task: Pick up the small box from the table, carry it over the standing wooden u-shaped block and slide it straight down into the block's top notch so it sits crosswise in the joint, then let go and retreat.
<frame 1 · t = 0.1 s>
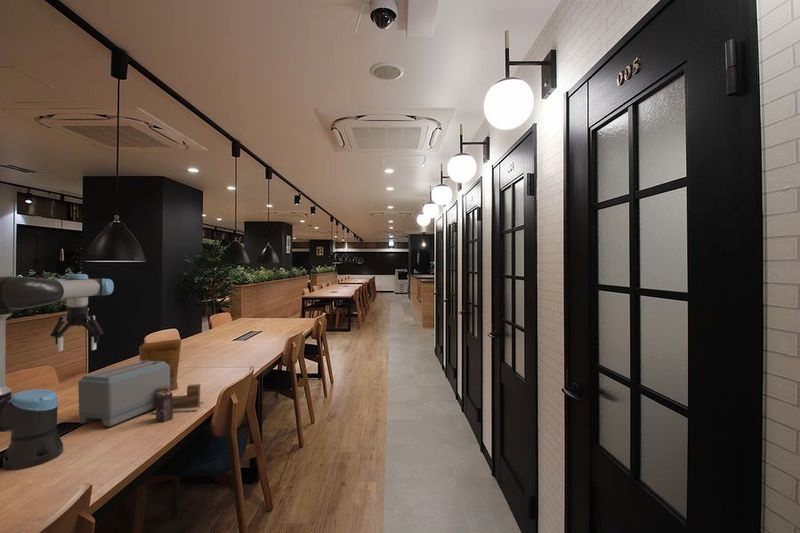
hand: (77, 350, 173), 28 cm above the table, fingers open, 13 cm apart
wooden u-shaped block: (178, 408, 174), on the table
box: (164, 420, 162), on the table
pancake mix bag: (160, 391, 197), on the table
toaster: (131, 411, 170), on the table, touching wooden u-shaped block
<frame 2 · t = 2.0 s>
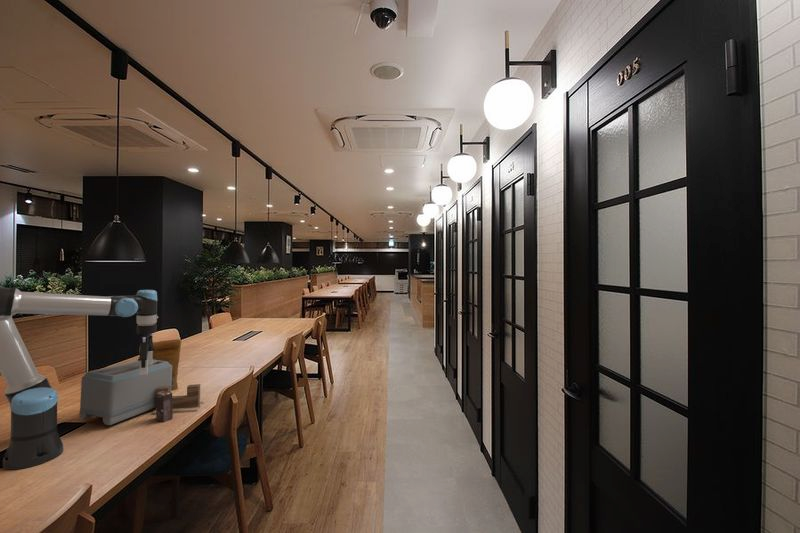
hand: (146, 370, 165), 21 cm above the table, fingers open, 13 cm apart
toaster: (131, 409, 170), point 1 cm above the table, touching gripper, wooden u-shaped block
everything else where it was.
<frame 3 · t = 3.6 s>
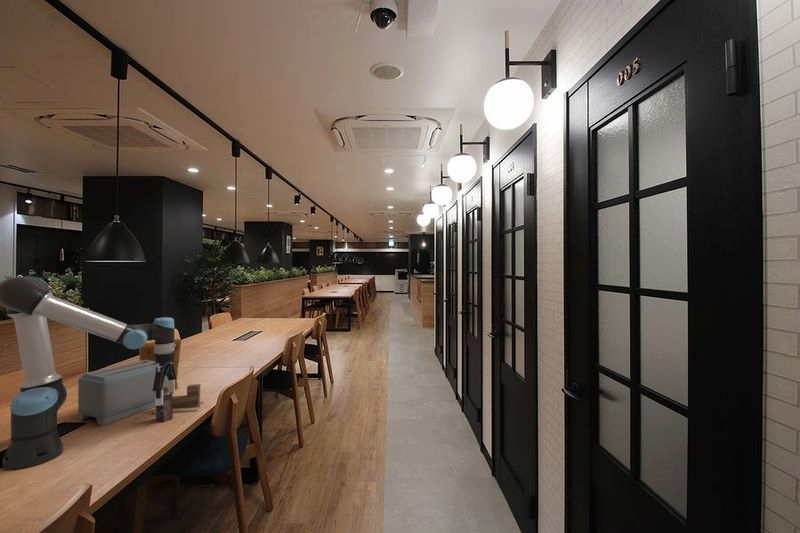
hand: (165, 399, 162), 9 cm above the table, fingers open, 13 cm apart
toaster: (129, 409, 173), on the table
everything else where it was.
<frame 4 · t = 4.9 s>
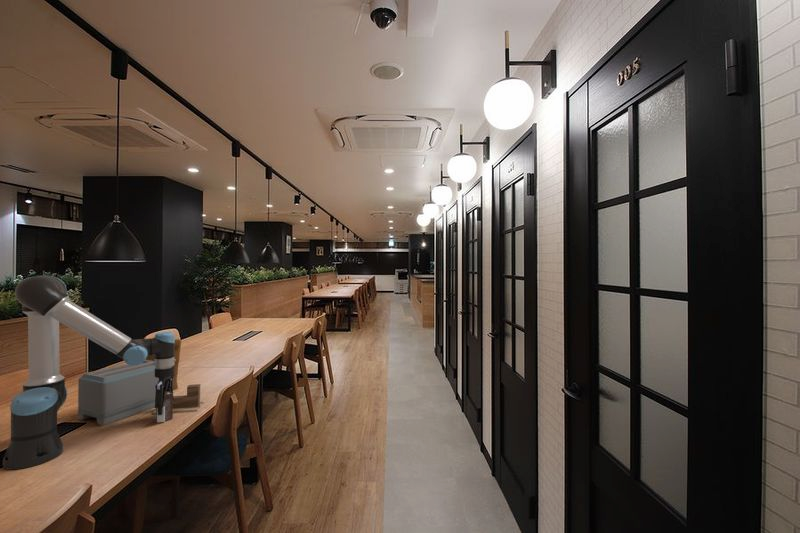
hand: (164, 418, 162), 1 cm above the table, fingers closed on box, 7 cm apart
box: (164, 419, 162), on the table, touching gripper
everything else where it was.
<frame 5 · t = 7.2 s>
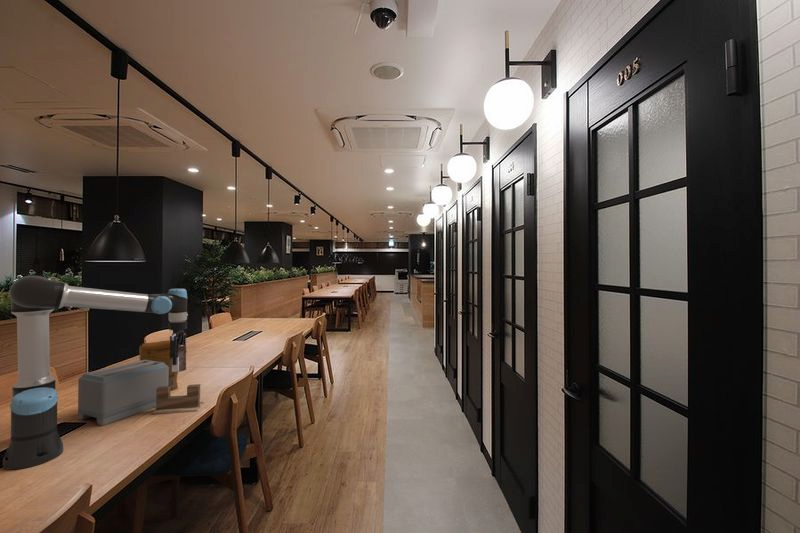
hand: (178, 369, 172), 20 cm above the table, fingers closed on box, 7 cm apart
box: (178, 370, 172), point 19 cm above the table, touching gripper
everything else where it was.
when the fingers open (7 cm above the table, at t = 9.5 s): box stays where it is, resting on wooden u-shaped block.
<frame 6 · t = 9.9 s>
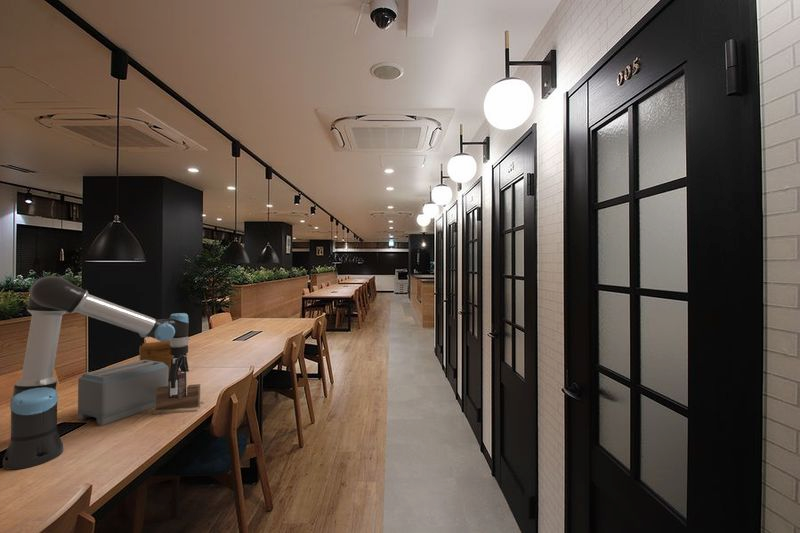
hand: (178, 389, 174), 9 cm above the table, fingers open, 13 cm apart
box: (178, 397, 173), point 6 cm above the table, touching wooden u-shaped block
everything else where it was.
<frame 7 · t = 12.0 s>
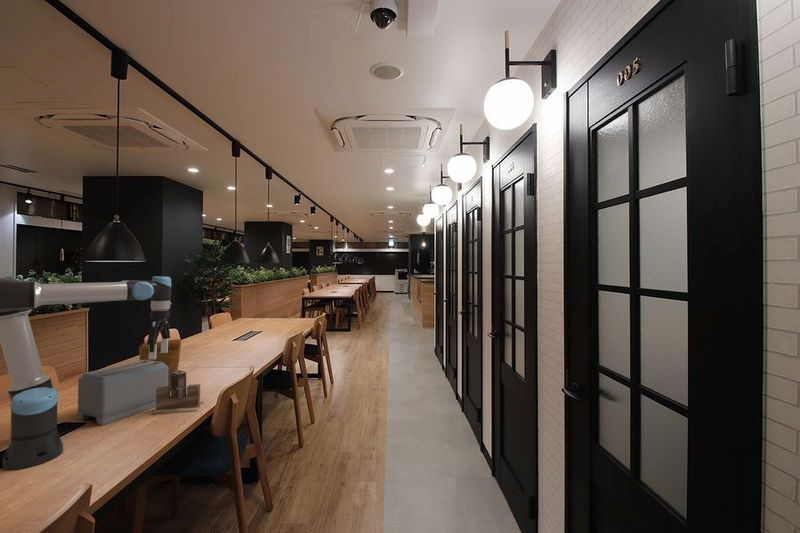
hand: (158, 355, 167), 27 cm above the table, fingers open, 13 cm apart
nothing on the table moved.
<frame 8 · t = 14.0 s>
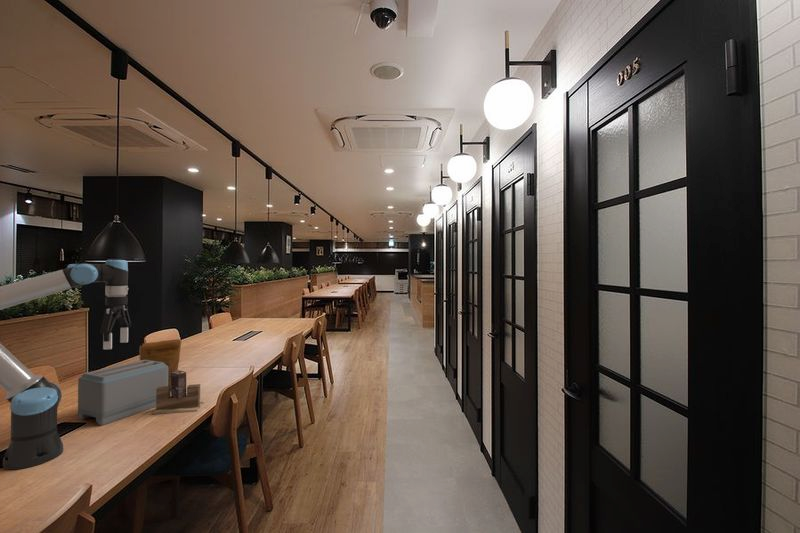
hand: (116, 345, 154), 35 cm above the table, fingers open, 13 cm apart
nothing on the table moved.
at the end: box 0.3 cm off-centre on the wooden u-shaped block, point 5.6 cm above the wooden u-shaped block's base; box tilted 0°; the gripper is holding nothing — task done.
